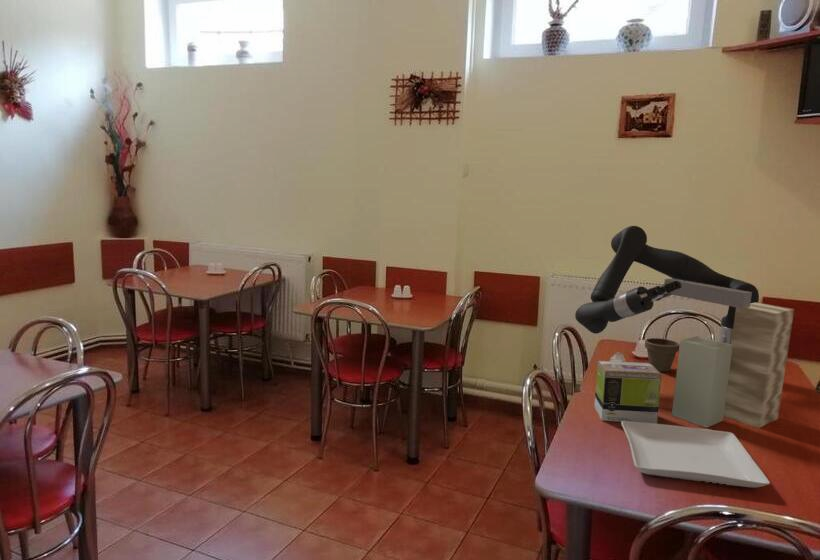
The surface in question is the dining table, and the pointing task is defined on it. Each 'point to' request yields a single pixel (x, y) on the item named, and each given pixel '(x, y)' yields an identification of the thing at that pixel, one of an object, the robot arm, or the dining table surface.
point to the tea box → (627, 391)
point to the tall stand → (758, 363)
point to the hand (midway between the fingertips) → (682, 283)
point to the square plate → (692, 454)
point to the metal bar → (711, 293)
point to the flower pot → (661, 352)
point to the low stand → (702, 380)
